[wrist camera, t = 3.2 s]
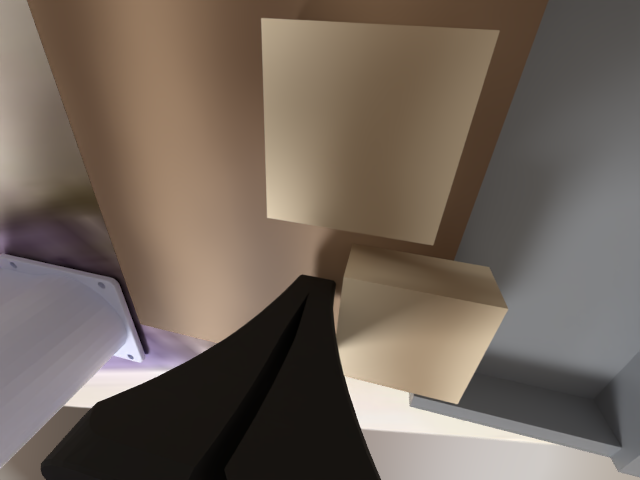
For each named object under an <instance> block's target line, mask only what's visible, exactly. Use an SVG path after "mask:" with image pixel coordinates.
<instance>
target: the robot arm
mask: <svg viewBox="0 0 640 480" xmlns="http://www.w3.org/2000/svg"><path fill="white" fill-rule="evenodd" d="M335 289H336V283H335V282H334V280H329V279H324V278H319V277H314V276H309V275H303V274H302V275H300V276H299V277H298V278H297V279H296V280H295V281H294V282H293V283H292V284H291V285H290V286H289V287H288V288H287V289H286V290H285V291H284V292H283V293H282V294H281V295H280V296H278V297H277V298H276V299H275V300H274V301H273V302H272V303H271V304H269V305H268V306H267V307H266V308H265V309H264V310H263V311H261V312H260V313H259V314H258V315H256V316H255V317H254V318H253V319H251V320H250V321H249V322H247V323H246V324H245V325H244V326H242V327H241V328H240V329H238V330H237V331H235V332H234V333H232V334H231V335H230V336H228V337H227V338H225V339H224V340H222V341H221V342H219V343H217V344H216V345H214V346H213V347H211V348H209V349H208V350H206V351H204V352H203V353H201V354H199V355H198V356H196V357H194V358H192V359H191V360H189V361H187V362H185V363H183V364H181V365H179V366H177V367H175V368H173V369H171V370H169V371H167V372H165V373H164V374H162V375H160V376H158V377H156V378H153V379H151V380H149V381H147V382H145V383H143V384H140V385H138V386H136V387H133V388H131V389H129V390H126V391H124V392H121V393H119V394H117V395H114V396H112V397H110V398H107V399H105V400H102V401H100V402H97V403H96V404H95V405H94V406H93V407H92V408H91V409H90V410H89V411H88V412H87V413H86V414H85V415H84V416H83V417H82V418H81V419H80V421H79V422H78V423H77V424H76V425H75V426H74V427H73V428H72V430H71V431H70V432H69V433H68V434H67V435H66V436H65V438H63V440H62V441H61V442H60V443H59V444H58V445H57V446H56V447H55V448H54V450H53V451H52V452H51V453H50V454H49V455H48V456H47V457H46V459H45V460H44V461H43V462H42V463H41V472H42V475H43V476H44V478H45V479H46V480H381V479H380V476H379V474H378V471H377V469H376V467H375V464H374V462H373V459H372V457H371V454H370V452H369V449H368V447H367V444H366V441H365V439H364V436H363V433H362V431H361V428H360V425H359V422H358V419H357V416H356V413H355V410H354V407H353V404H352V401H351V398H350V395H349V392H348V388H347V384H346V381H345V377H344V373H343V369H342V365H341V360H340V356H339V351H338V345H337V339H336V332H335V323H334V312H333V306H334V297H335ZM112 356H117V357H121V358H124V359H128V360H132V361H135V362H142V361H143V360H144V359H145V358H146V357H145V353H144V351H143V348H142V345H141V342H140V340H139V337H138V334H137V331H136V329H135V326H134V323H133V320H132V318H131V315H130V312H129V309H128V307H127V304H126V301H125V298H124V296H123V293H122V290H121V288H120V285H119V283H118V282H117V281H116V280H115V279H114V278H111V277H106V276H102V275H97V274H93V273H88V272H84V271H79V270H75V269H70V268H66V267H61V266H57V265H52V264H48V263H43V262H39V261H34V260H30V259H25V258H21V257H16V256H12V255H7V254H1V255H0V469H1V468H2V467H3V465H5V464H6V463H7V462H8V461H9V460H10V459H11V458H12V457H13V456H14V455H15V453H17V451H19V450H20V448H22V447H23V446H24V445H25V444H26V443H27V442H28V441H29V440H30V438H32V437H33V436H34V435H35V434H36V433H37V432H38V431H39V430H40V429H41V428H42V427H43V425H45V424H46V423H47V422H48V421H49V419H51V418H52V416H54V414H55V413H56V412H57V411H59V409H60V408H62V407H63V406H64V405H65V404H66V403H67V402H68V401H69V400H70V399H71V398H72V397H73V396H74V395H75V394H76V393H77V392H78V391H79V390H80V389H81V388H82V387H83V386H84V385H85V384H86V383H87V382H88V381H89V380H90V379H91V378H92V377H93V376H94V375H95V374H96V373H97V372H98V371H99V370H100V368H101V367H102V366H103V365H104V364H105V363H106V362H107V361H108V360H109V359H110V358H111V357H112Z"/></svg>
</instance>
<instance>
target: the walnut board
mask: <svg viewBox="0 0 640 480" xmlns="http://www.w3.org/2000/svg"><path fill="white" fill-rule="evenodd" d="M548 1H549V0H27V2H28V5H29V8H30V10H31V13H32V16H33V19H34V22H35V25H36V28H37V30H38V33H39V36H40V39H41V42H42V45H43V48H44V50H45V53H46V56H47V59H48V62H49V65H50V68H51V70H52V73H53V76H54V79H55V82H56V85H57V88H58V91H59V93H60V96H61V99H62V102H63V105H64V108H65V111H66V113H67V116H68V119H69V122H70V125H71V128H72V131H73V133H74V136H75V139H76V142H77V145H78V148H79V151H80V153H81V156H82V159H83V162H84V165H85V168H86V171H87V173H88V176H89V179H90V182H91V185H92V188H93V191H94V194H95V196H96V199H97V202H98V205H99V208H100V211H101V214H102V216H103V219H104V222H105V225H106V228H107V231H108V234H109V236H110V239H111V242H112V245H113V248H114V251H115V254H116V256H117V259H118V262H119V265H120V268H121V271H122V274H123V276H124V279H125V282H126V285H127V288H128V291H129V294H130V296H131V299H132V302H133V305H134V308H135V311H136V314H137V317H138V319H139V322H140V324H142V325H146V326H150V327H154V328H158V329H162V330H166V331H171V332H175V333H179V334H183V335H187V336H191V337H195V338H199V339H203V340H207V341H211V342H215V343H219V342H221V341H222V340H224V339H225V338H227V337H228V336H230V335H231V334H232V333H234V332H235V331H237V330H238V329H240V328H241V327H242V326H244V325H245V324H246V323H247V322H249V321H250V320H251V319H253V318H254V317H255V316H256V315H258V314H259V313H260V312H261V311H263V310H264V309H265V308H266V307H267V306H268V305H269V304H271V303H272V302H273V301H274V300H275V299H276V298H277V297H278V296H280V295H281V294H282V293H283V292H284V291H285V290H286V289H287V288H288V287H289V286H290V285H291V284H292V283H293V282H294V281H295V280H296V279H297V278H298V277H299V276H300V275H302V274H303V275H309V276H314V277H319V278H324V279H329V280H334V282H335V283H336V289H335V297H334V306H333V312H334V323H335V332H336V330H337V323H338V315H339V308H340V300H341V293H342V285H343V278H344V274H345V270H346V266H347V262H348V259H349V255H350V251H351V248H352V244H353V243H354V244H360V245H366V246H371V247H377V248H383V249H389V250H394V251H400V252H406V253H412V254H417V255H423V256H429V257H435V258H440V259H446V260H452V261H454V259H455V256H456V253H457V251H458V248H459V245H460V242H461V240H462V237H463V234H464V231H465V229H466V226H467V223H468V220H469V218H470V215H471V212H472V209H473V207H474V204H475V201H476V198H477V196H478V193H479V190H480V187H481V185H482V182H483V179H484V176H485V174H486V171H487V168H488V165H489V163H490V160H491V157H492V154H493V152H494V149H495V146H496V143H497V141H498V138H499V135H500V132H501V130H502V127H503V124H504V121H505V119H506V116H507V113H508V110H509V108H510V105H511V102H512V100H513V97H514V94H515V91H516V89H517V86H518V83H519V80H520V78H521V75H522V72H523V69H524V67H525V64H526V61H527V58H528V56H529V53H530V50H531V47H532V45H533V42H534V39H535V36H536V34H537V31H538V28H539V25H540V23H541V20H542V17H543V14H544V12H545V9H546V6H547V3H548ZM261 18H271V19H290V20H309V21H329V22H348V23H367V24H386V25H406V26H425V27H444V28H464V29H483V30H500V32H499V35H498V38H497V41H496V45H495V48H494V51H493V54H492V57H491V61H490V64H489V67H488V70H487V74H486V77H485V80H484V83H483V86H482V90H481V93H480V96H479V99H478V103H477V106H476V109H475V112H474V115H473V119H472V122H471V125H470V128H469V132H468V135H467V138H466V141H465V145H464V148H463V151H462V154H461V157H460V161H459V164H458V167H457V170H456V174H455V177H454V180H453V183H452V186H451V190H450V193H449V196H448V199H447V203H446V206H445V209H444V212H443V215H442V219H441V222H440V225H439V228H438V232H437V235H436V238H435V241H434V244H433V245H427V244H421V243H415V242H409V241H403V240H397V239H391V238H386V237H380V236H374V235H368V234H362V233H356V232H350V231H344V230H338V229H332V228H326V227H320V226H314V225H308V224H302V223H296V222H290V221H284V220H278V219H272V218H267V197H266V164H265V130H264V97H263V63H262V30H261Z"/></svg>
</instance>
